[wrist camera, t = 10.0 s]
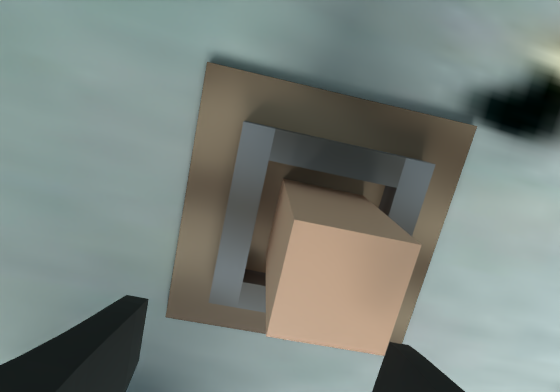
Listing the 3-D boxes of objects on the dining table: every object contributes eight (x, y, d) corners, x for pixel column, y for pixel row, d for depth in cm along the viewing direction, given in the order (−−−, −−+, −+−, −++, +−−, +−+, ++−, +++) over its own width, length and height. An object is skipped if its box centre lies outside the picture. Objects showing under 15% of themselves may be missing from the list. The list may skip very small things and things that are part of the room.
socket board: (394, 350, 21) (407, 374, 19) (167, 312, 20) (157, 333, 18) (471, 125, 18) (496, 127, 16) (208, 63, 17) (201, 56, 15)
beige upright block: (342, 269, 19) (384, 356, 12) (265, 255, 19) (266, 336, 12) (363, 195, 18) (421, 245, 11) (283, 178, 18) (294, 219, 11)
